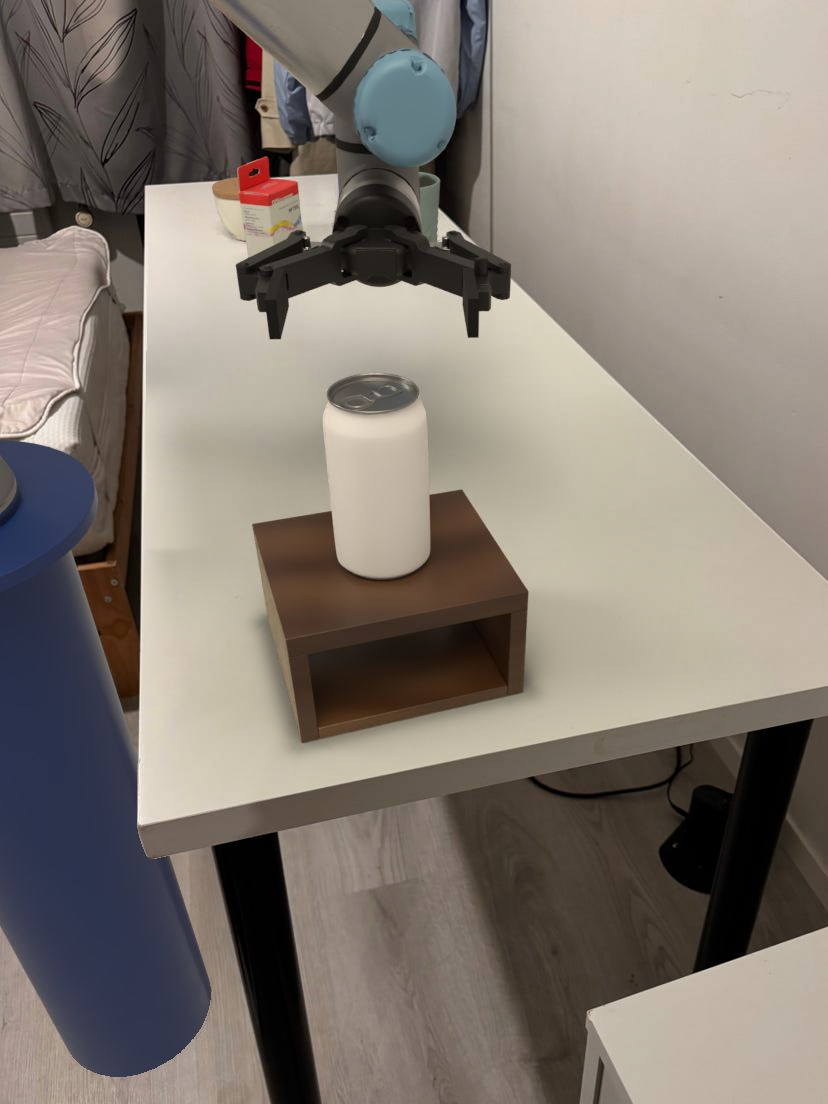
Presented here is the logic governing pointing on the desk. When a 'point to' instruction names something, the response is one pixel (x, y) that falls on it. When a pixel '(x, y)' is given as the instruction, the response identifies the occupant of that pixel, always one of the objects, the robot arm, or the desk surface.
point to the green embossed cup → (429, 204)
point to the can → (378, 474)
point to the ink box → (267, 206)
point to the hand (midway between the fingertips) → (373, 319)
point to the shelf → (392, 623)
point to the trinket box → (229, 206)
